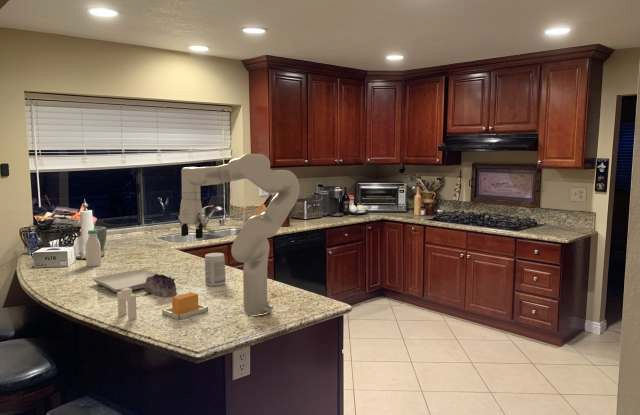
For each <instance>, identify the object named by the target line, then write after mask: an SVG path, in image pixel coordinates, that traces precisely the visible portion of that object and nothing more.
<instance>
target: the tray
mask: <svg viewBox="0 0 640 415" xmlns="http://www.w3.org/2000/svg"><path fill="white" fill-rule="evenodd" d="M208 312H209V307H208V306H206V305H203V304H200V303H198V309H197V310H194V311H190V312H187V313H183V314H180V315H179V314H176V313H173V312H172V306H170V307H168V308H164V309H161V313H162V315H163V316H166V317H167V318H171V319H174V320H177V321H181V320H184V319H188V318H191V317H195V316H198V315H202V314H204V313H208Z"/></svg>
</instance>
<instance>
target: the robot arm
mask: <svg viewBox="0 0 640 415" xmlns="http://www.w3.org/2000/svg"><path fill="white" fill-rule="evenodd" d="M245 179H247V180H248V181H250V182H251V183H252V184H254V186H256V187H257V188H259V189H260V190H262V191H264V192H265V193H268V194H275V193H276V194H275V195H274V196H273V197H272V199H271V200H270V202H269V203H268V205H267V206H266V208H265V209H264V211H263V212H262V213H260V214H256V215H253V216H251V217H249V218H248V219H247V220H246V221H245V223H244V224H243V226H242V227H241V229H240V230H239V232H238V234H237V235H236V238H235V239H234V240H233V242H232V245H231V255H232V257H233V259H234V260H235V261H236V262H238V263H243V268H242V269H243V271H242V272H243V273H242V274H243V277H242V278H243V281H242V282H243V284H242V286H243V288H242V289H243V306H241V307H240V308H239V312H240V313H242V314H245V315H258V314H264V313H267V312H268V313H269V314H271V312H272V310H274V307H273V305H270V301H268V263H269V262H268V261H269V254H270V242H269V239H268V238H272V237H274V236H275V235H277V233H278V232H279V230H280V229H281V227H282V225H283V223H285V221H286V219H287V217H288V216H289V214H290V212H291V211H292V209H293V208H294V206H295V205H296V202H297V201H298V199H299V195H300V190H301V188H300V182H299V179H298V177H297V176H296V175H295V173H293V171H291V170H288V169H272V168H271V160H270V159H269V158H268V157H267V155H265V154H262V153H245V154H243V155H242V156H241V157H238V158H233V159H231V160H229V161H228V163H225V164H222V165H218V166H217V165H216V166H202V167H201V166H200V167H197V166H189V167H188V166H186V167H182V168H181V201H180V205H179V207H180V208H179V215H178V216H177V217H178V220H179V221H178V222H179V225H180V231H181V232H180V233H181V236H182V237H185V236H186V237H187V236H189V226H188V225H194V226H195V228H196V229H195V239H196V240H199V239H203V237H204V235H203V232H204V231H203V229H204V227H205V224H206V221H207V220H206V218H205V217H204V216H203V206H202V200H201V187H203V186H212V185H213V186H214V185H215V186H216V185H220V184H225V183H229V182H236V181H241V180H245Z"/></svg>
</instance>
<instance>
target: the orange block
mask: <svg viewBox="0 0 640 415" xmlns="http://www.w3.org/2000/svg"><path fill="white" fill-rule="evenodd" d="M198 304H199V294H198V293H196V292H192V291H190V292H186V293H181V294H180V295H175V296H174V297H171V307H172V312H173V313H176V314H179V315H180V314H183V313H187V312H190V311H194V310H197V309H198Z"/></svg>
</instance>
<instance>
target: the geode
mask: <svg viewBox="0 0 640 415" xmlns="http://www.w3.org/2000/svg"><path fill="white" fill-rule="evenodd" d="M158 274H159V273H157V274H155V275H153V276H152V277H148V278H147V279H146V282H145V288H144V292H146V293H149V294H150V295H153V296H156V297H161V298H172V297H174V296H177V287H176V283H175V280H176V278H172V277H171V276H168V275H164V274H160V275H158Z"/></svg>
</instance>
